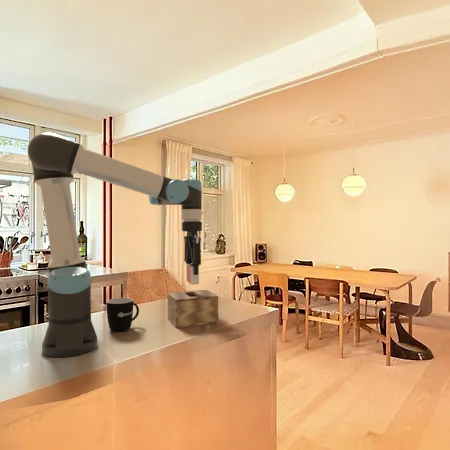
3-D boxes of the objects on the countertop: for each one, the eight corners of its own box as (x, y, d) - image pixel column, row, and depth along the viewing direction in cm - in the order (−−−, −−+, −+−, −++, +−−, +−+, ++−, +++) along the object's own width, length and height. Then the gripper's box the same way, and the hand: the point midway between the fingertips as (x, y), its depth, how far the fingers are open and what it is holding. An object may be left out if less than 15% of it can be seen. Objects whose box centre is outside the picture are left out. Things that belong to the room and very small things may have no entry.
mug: (115, 335, 118) (115, 304, 118) (101, 329, 125) (101, 300, 124) (145, 327, 127) (145, 298, 127) (131, 322, 133) (131, 295, 133)
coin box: (175, 327, 126) (175, 299, 126) (167, 318, 138) (167, 292, 138) (218, 322, 132) (218, 295, 132) (206, 314, 144) (206, 289, 144)
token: (192, 284, 132) (191, 268, 132) (187, 281, 138) (187, 266, 137) (198, 283, 133) (198, 267, 133) (193, 281, 139) (193, 265, 138)
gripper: (209, 220, 127) (210, 285, 128) (194, 220, 145) (194, 277, 145) (189, 220, 125) (190, 287, 125) (175, 220, 142) (176, 279, 143)
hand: (192, 281), depth 135 cm, fingers closed on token, 6 cm apart
